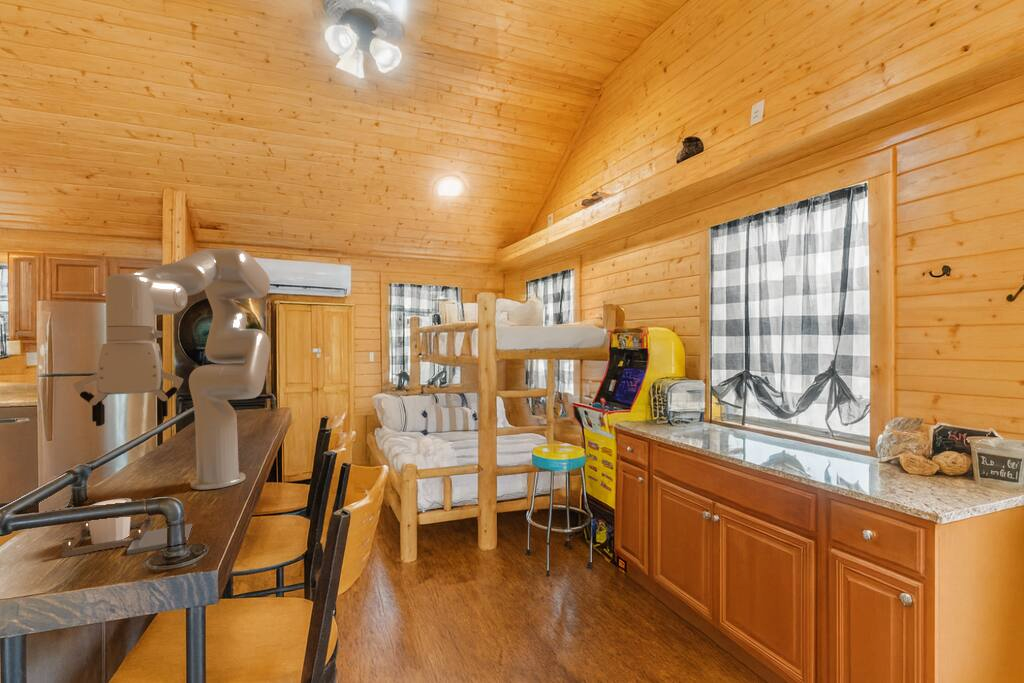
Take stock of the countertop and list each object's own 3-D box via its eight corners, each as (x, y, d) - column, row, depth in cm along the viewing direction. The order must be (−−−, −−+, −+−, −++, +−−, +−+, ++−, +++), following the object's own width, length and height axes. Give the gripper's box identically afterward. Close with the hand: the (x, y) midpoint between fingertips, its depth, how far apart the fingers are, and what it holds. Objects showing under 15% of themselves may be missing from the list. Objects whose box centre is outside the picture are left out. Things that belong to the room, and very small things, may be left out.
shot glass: (91, 537, 96) (89, 502, 96) (135, 529, 99) (133, 495, 99) (84, 550, 90) (82, 512, 90) (131, 541, 94) (129, 504, 94)
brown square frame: (82, 535, 97) (81, 522, 97) (152, 523, 102) (152, 511, 102) (61, 557, 87) (61, 543, 87) (141, 543, 92) (140, 530, 92)
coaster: (137, 536, 95) (137, 532, 95) (192, 527, 100) (192, 523, 100) (127, 554, 87) (126, 550, 87) (187, 543, 92) (186, 539, 92)
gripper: (184, 337, 105) (185, 417, 104) (79, 338, 97) (80, 425, 96) (180, 335, 98) (181, 420, 98) (67, 336, 90) (68, 429, 90)
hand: (131, 422), depth 97 cm, fingers open, 9 cm apart
